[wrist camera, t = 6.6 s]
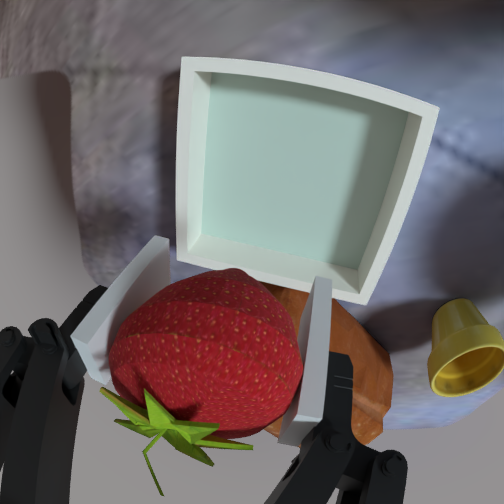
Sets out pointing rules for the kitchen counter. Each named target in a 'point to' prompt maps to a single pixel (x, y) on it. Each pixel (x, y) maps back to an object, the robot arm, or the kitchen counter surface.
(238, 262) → the serving bin
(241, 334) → the strawberry
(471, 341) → the plant pot
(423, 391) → the kitchen counter surface
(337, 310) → the bread
